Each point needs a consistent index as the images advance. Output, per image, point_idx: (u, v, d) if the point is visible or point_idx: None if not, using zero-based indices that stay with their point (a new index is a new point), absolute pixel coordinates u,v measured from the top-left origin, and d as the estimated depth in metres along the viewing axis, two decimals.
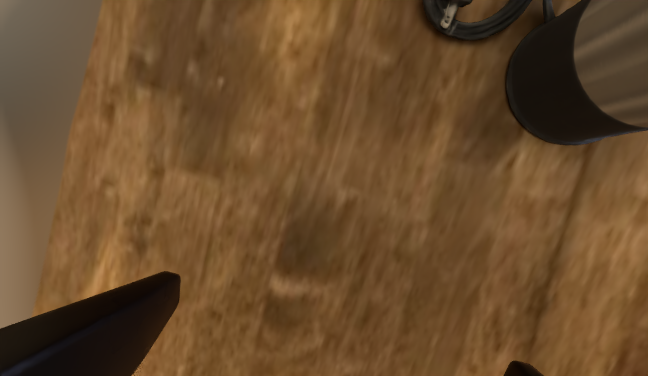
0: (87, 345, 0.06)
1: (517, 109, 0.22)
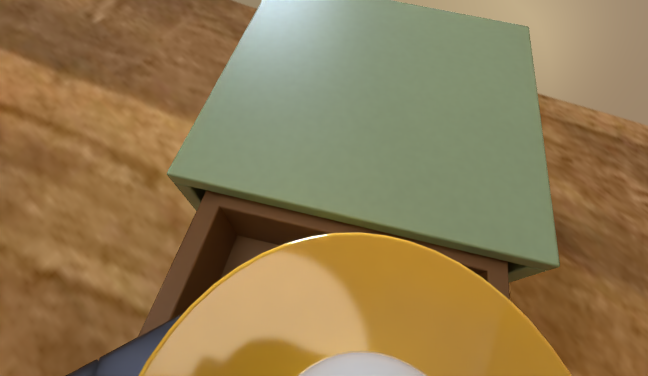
0: None
1: None
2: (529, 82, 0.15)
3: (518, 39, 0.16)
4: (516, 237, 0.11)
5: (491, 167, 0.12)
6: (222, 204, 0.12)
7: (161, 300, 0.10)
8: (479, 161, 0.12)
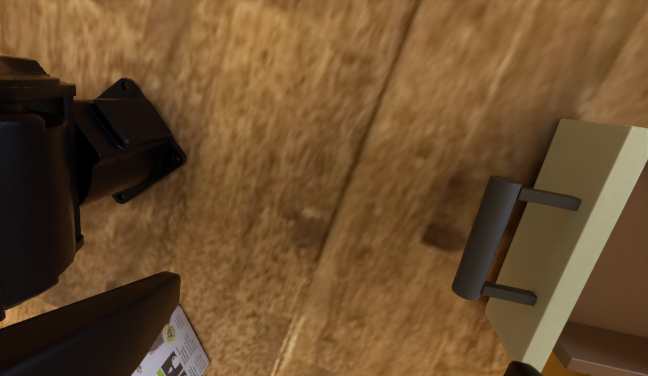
0: (87, 345, 0.06)
1: None
2: None
3: None
4: None
5: None
6: None
7: None
8: None
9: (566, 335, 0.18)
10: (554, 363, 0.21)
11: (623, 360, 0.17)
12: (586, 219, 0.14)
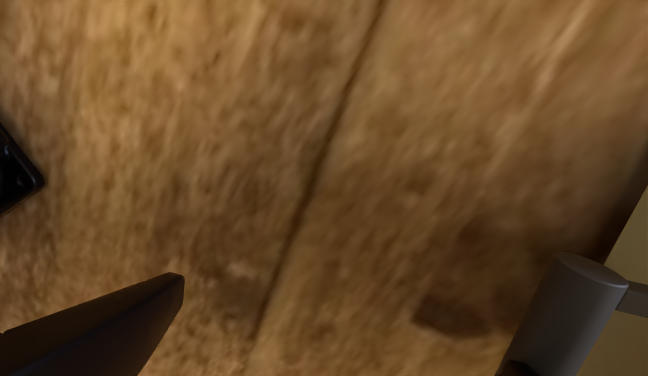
0: (93, 347, 0.06)
1: None
2: None
3: None
4: None
5: None
6: None
7: None
8: None
9: None
10: None
11: None
12: None
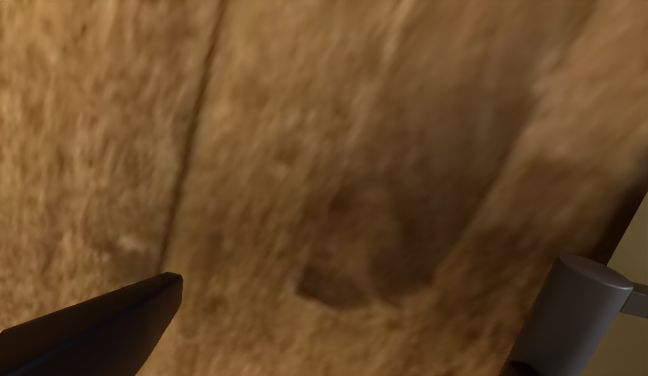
0: (91, 346, 0.06)
1: None
2: None
3: None
4: None
5: None
6: None
7: None
8: None
9: None
10: None
11: None
12: None
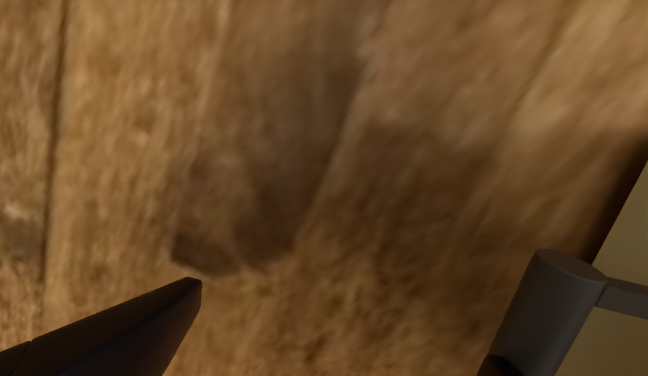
0: (119, 354, 0.06)
1: None
2: None
3: None
4: None
5: None
6: None
7: None
8: None
9: None
10: None
11: None
12: None
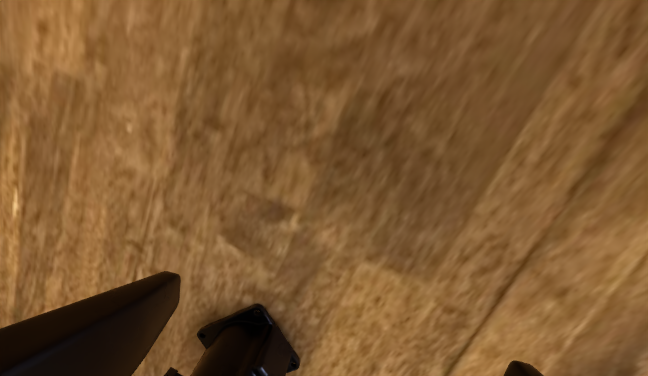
0: (87, 345, 0.06)
1: None
2: None
3: None
4: None
5: None
6: None
7: None
8: None
9: None
10: None
11: None
12: None
